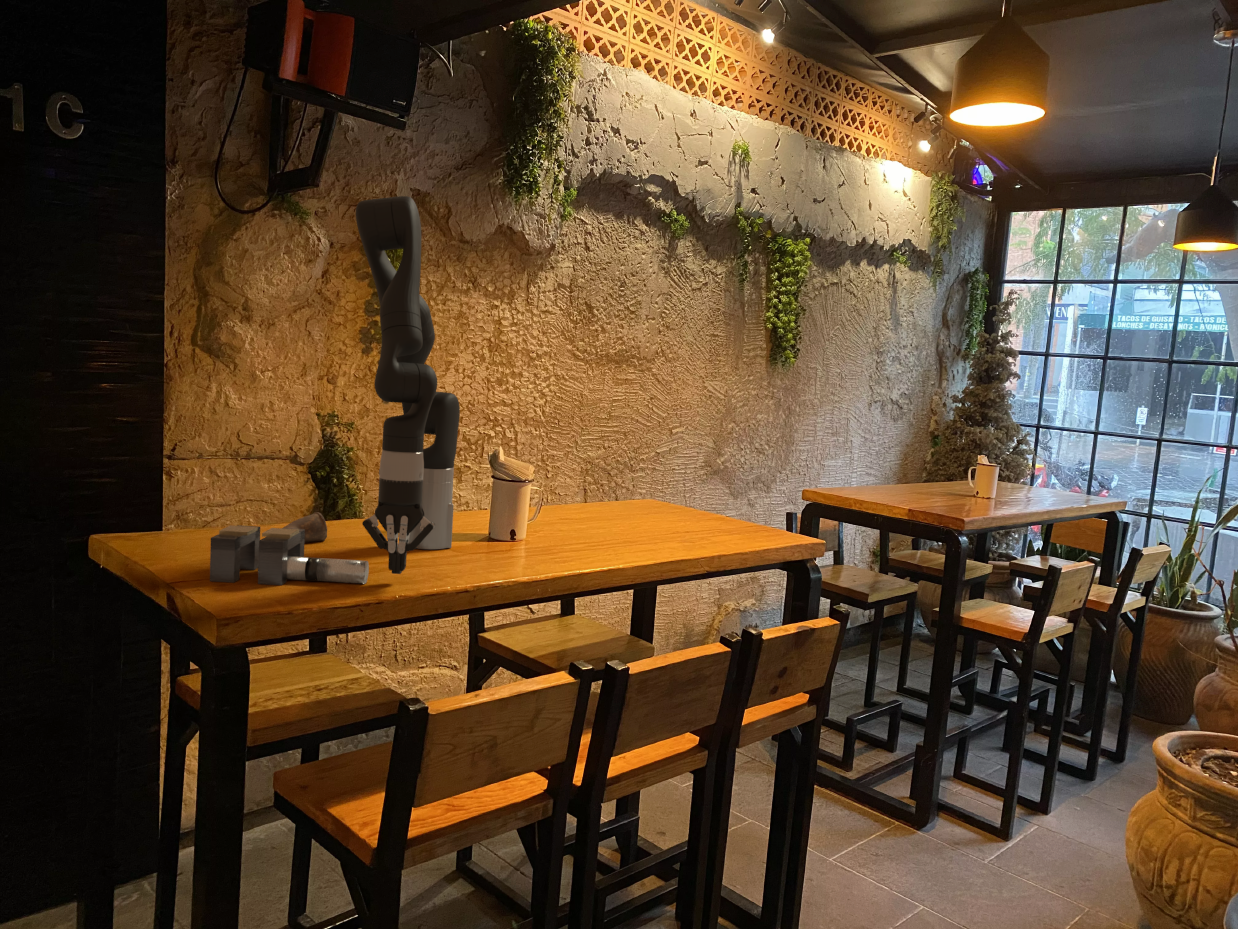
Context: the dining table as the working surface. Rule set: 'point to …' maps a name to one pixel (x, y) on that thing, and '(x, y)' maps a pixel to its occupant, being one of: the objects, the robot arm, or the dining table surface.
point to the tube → (327, 569)
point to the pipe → (311, 527)
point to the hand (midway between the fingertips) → (396, 572)
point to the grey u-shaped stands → (254, 553)
